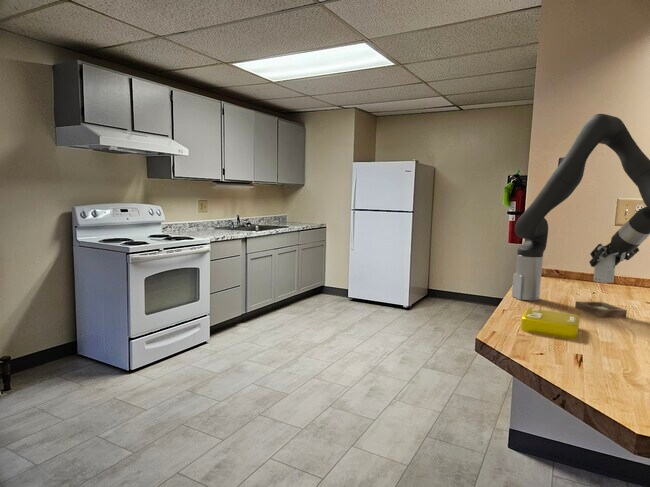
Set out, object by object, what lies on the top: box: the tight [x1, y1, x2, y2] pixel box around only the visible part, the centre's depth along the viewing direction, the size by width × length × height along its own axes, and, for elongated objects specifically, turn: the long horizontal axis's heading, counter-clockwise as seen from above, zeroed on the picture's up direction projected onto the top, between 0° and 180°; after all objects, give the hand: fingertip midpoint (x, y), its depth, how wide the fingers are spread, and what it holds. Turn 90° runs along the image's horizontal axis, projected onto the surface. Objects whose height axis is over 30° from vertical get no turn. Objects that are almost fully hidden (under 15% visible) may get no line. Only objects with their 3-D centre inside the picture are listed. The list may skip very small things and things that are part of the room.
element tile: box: [520, 308, 580, 340], centre depth 131 cm, size 15×15×5 cm
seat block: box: [574, 301, 628, 319], centre depth 152 cm, size 10×12×2 cm
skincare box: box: [593, 251, 616, 284], centre depth 150 cm, size 6×4×12 cm
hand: (601, 264), depth 151 cm, fingers closed on skincare box, 7 cm apart
